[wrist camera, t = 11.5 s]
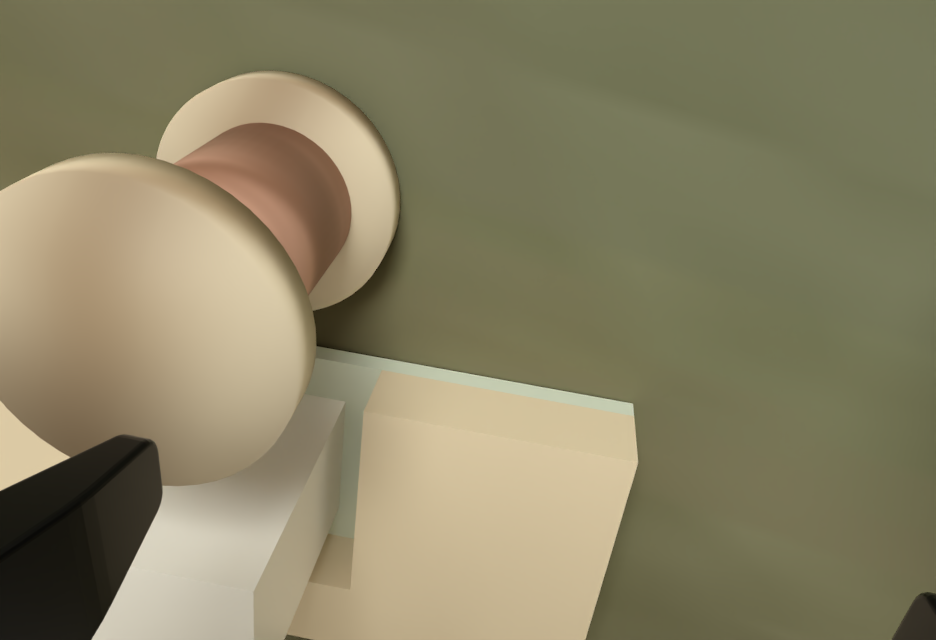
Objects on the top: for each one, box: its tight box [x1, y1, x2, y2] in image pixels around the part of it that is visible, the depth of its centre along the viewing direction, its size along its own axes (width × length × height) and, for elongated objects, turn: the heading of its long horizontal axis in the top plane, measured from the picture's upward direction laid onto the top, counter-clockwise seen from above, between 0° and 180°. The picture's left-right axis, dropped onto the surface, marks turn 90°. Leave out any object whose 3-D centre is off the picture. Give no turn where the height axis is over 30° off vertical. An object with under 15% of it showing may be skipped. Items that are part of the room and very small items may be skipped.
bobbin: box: [0, 70, 400, 486], centre depth 17 cm, size 6×6×8 cm
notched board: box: [0, 346, 638, 640], centre depth 23 cm, size 20×9×3 cm, turn 83°
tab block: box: [92, 394, 346, 640], centre depth 20 cm, size 4×4×7 cm
